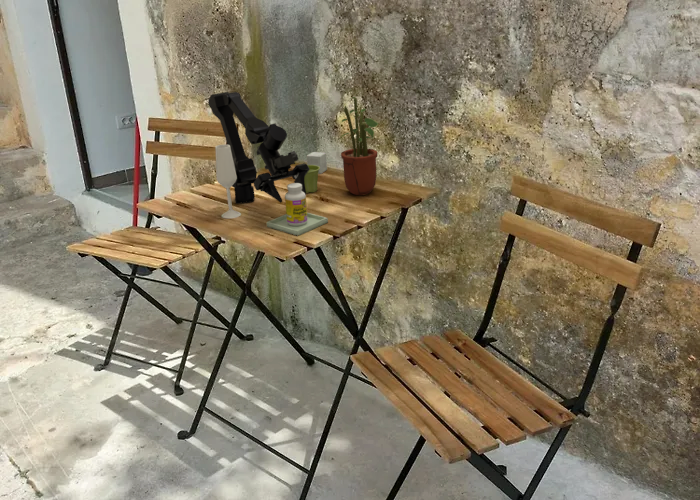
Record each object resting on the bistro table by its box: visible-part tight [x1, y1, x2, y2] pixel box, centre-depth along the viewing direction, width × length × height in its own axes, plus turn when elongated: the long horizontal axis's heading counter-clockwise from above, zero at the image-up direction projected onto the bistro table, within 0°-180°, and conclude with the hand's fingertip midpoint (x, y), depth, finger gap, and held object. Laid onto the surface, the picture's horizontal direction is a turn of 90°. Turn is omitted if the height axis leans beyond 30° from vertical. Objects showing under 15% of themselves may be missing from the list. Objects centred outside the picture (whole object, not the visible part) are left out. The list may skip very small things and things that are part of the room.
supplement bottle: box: [284, 182, 308, 226], centre depth 210 cm, size 7×7×13 cm
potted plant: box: [334, 96, 379, 196], centre depth 235 cm, size 17×16×35 cm
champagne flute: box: [214, 143, 242, 219], centre depth 219 cm, size 7×7×24 cm
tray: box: [266, 212, 329, 237], centre depth 212 cm, size 14×14×2 cm
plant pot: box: [305, 165, 320, 194], centre depth 243 cm, size 9×9×9 cm
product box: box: [306, 151, 328, 175], centre depth 266 cm, size 6×6×7 cm
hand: (293, 198), depth 210 cm, fingers open, 9 cm apart
